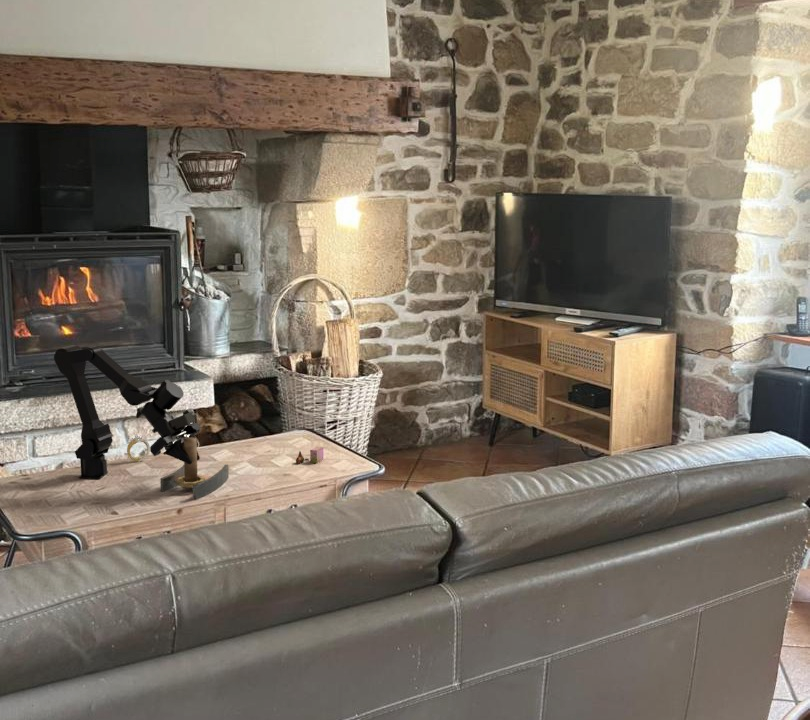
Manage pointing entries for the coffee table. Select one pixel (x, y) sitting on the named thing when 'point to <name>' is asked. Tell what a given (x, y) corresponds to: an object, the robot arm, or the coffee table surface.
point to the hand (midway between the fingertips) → (194, 461)
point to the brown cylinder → (190, 465)
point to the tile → (206, 476)
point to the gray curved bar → (200, 488)
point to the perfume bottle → (312, 455)
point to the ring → (135, 443)
